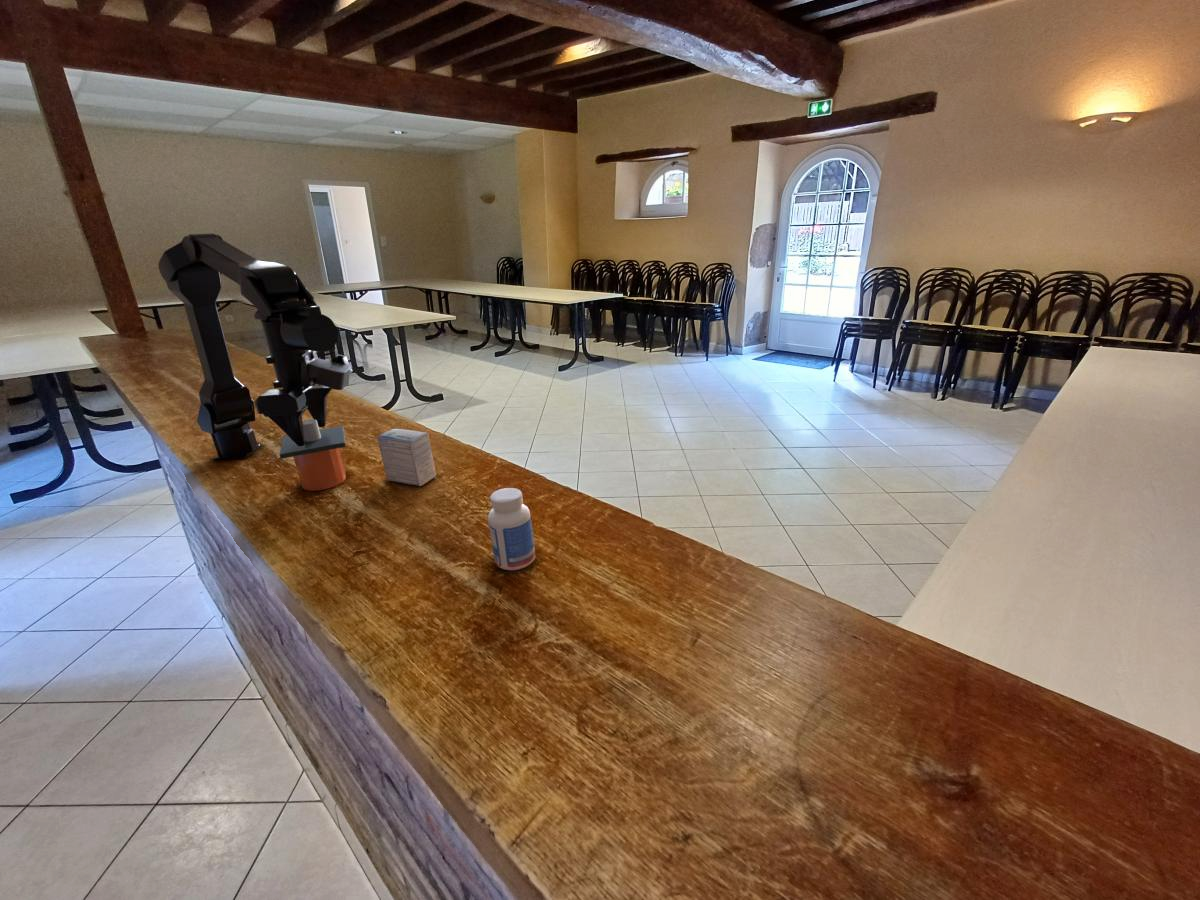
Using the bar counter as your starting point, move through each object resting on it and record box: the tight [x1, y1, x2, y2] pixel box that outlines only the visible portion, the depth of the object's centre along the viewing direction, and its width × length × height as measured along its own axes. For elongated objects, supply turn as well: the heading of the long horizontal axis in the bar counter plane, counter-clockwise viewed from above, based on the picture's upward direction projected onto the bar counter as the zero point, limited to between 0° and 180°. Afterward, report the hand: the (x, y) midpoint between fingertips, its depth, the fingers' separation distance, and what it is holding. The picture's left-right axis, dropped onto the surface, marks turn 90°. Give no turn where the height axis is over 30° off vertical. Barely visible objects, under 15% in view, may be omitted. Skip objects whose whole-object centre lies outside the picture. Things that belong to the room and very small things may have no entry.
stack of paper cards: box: [377, 428, 437, 487], centre depth 97 cm, size 8×4×9 cm, turn 65°
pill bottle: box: [487, 487, 536, 571], centre depth 72 cm, size 6×5×10 cm
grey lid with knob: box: [279, 418, 347, 460], centre depth 96 cm, size 10×10×4 cm
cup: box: [292, 448, 347, 492], centre depth 98 cm, size 7×7×8 cm
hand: (312, 435), depth 96 cm, fingers open, 9 cm apart
